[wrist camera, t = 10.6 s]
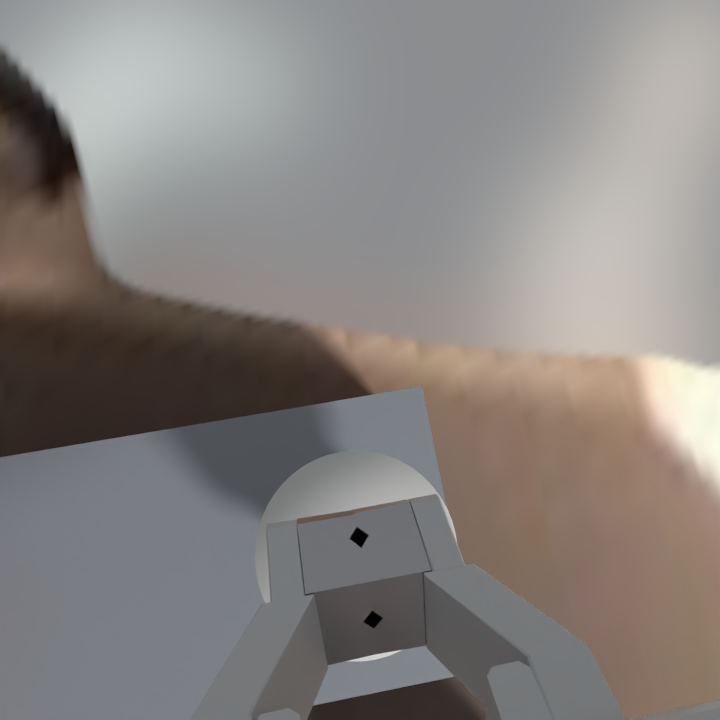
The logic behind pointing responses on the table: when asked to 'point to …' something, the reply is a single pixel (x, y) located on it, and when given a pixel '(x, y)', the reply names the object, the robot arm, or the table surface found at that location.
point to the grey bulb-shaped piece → (339, 497)
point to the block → (169, 558)
